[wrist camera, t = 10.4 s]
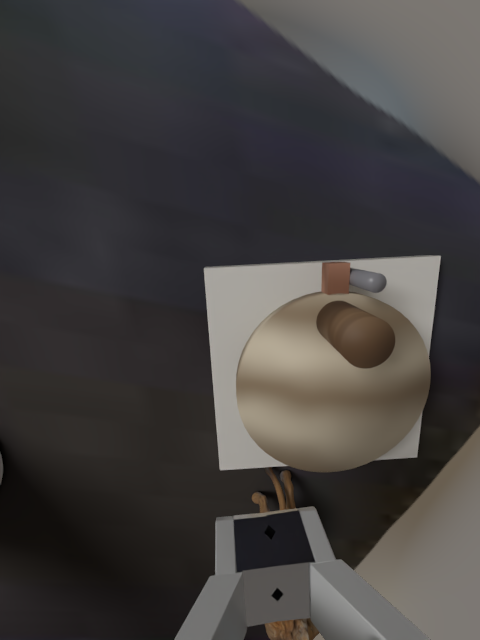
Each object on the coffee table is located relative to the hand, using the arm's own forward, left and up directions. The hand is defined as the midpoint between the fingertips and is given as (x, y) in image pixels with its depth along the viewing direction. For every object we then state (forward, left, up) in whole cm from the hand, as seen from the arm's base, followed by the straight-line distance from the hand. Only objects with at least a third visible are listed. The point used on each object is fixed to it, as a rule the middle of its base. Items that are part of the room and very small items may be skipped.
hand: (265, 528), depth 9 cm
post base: (+7, -3, -18) cm, 19 cm away
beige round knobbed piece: (+7, -2, -15) cm, 16 cm away
